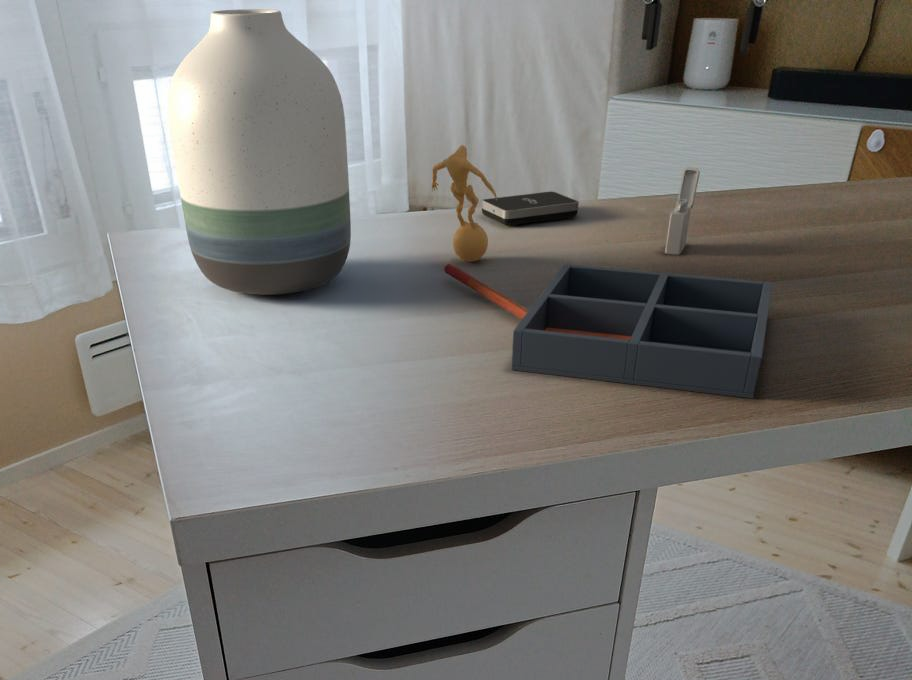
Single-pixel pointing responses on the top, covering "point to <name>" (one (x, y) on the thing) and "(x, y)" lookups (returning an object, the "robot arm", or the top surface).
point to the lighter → (682, 212)
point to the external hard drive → (530, 208)
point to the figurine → (468, 236)
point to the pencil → (486, 291)
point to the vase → (260, 157)
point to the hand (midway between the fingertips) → (697, 50)
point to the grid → (647, 330)
